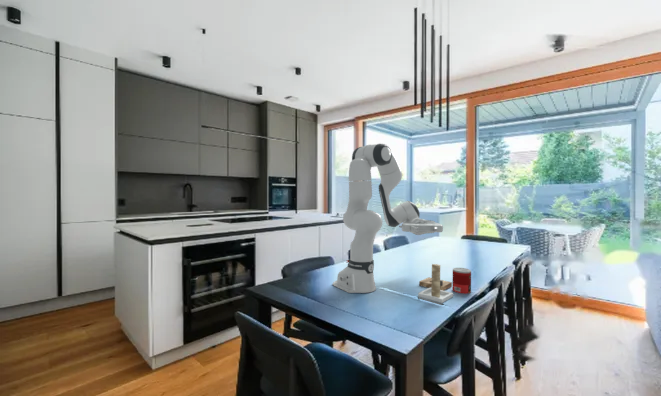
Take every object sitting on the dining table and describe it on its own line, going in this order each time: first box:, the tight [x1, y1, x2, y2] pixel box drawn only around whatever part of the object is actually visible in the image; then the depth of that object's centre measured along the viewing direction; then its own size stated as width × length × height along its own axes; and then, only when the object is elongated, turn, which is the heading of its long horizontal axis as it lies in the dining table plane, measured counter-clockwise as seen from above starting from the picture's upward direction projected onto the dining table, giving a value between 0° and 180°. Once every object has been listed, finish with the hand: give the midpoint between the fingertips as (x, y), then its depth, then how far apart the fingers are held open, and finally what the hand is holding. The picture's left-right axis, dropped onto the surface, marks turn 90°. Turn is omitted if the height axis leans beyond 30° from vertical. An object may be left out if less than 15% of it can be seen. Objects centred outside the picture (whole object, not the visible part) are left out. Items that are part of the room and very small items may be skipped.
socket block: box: [418, 277, 453, 291], centre depth 148 cm, size 12×10×5 cm
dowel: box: [431, 263, 441, 298], centre depth 133 cm, size 4×4×14 cm
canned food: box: [452, 267, 472, 295], centre depth 140 cm, size 8×8×11 cm
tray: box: [417, 287, 454, 306], centre depth 133 cm, size 11×11×2 cm
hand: (426, 229), depth 144 cm, fingers open, 8 cm apart
